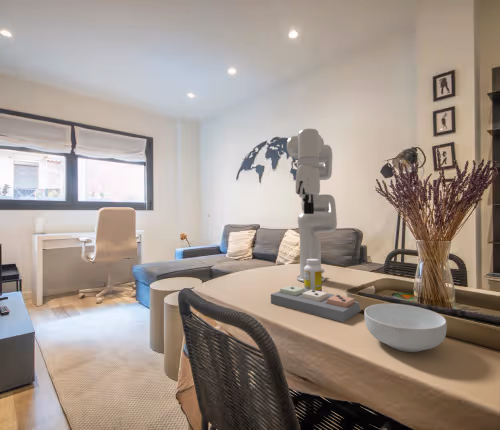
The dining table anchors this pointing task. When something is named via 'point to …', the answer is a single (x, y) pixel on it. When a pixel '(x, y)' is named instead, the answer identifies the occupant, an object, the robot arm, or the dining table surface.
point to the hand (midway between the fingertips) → (308, 213)
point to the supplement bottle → (313, 275)
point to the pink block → (340, 301)
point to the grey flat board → (315, 306)
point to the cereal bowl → (405, 326)
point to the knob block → (292, 290)
